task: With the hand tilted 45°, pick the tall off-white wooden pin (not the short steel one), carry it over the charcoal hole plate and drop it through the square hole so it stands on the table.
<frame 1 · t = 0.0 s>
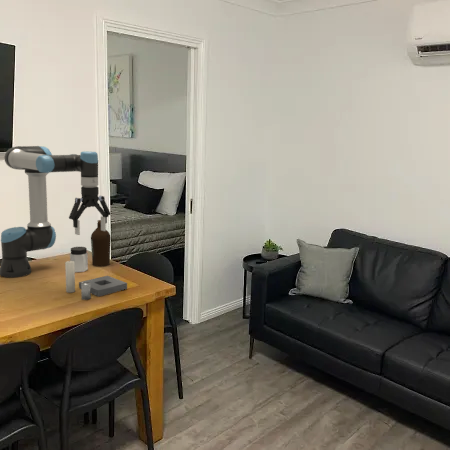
hand: (90, 232, 219), 28 cm above the table, tool pointing down, fingers open, 13 cm apart
short pin: (86, 298, 215), on the table
jar: (79, 270, 256), on the table
long pin: (70, 291, 223), on the table
hole plate: (103, 288, 228), on the table
olive oil: (101, 264, 268), on the table
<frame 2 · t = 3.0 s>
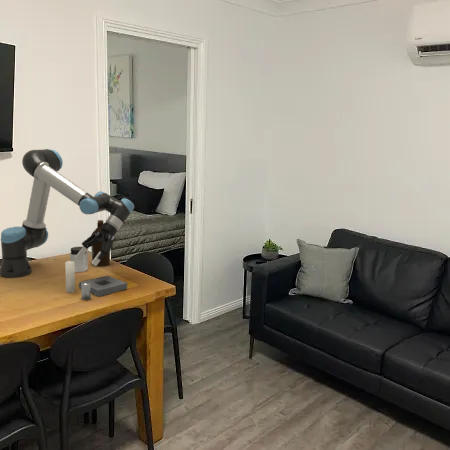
hand: (85, 261, 225), 13 cm above the table, tool tilted 45°, fingers open, 13 cm apart
nothing on the table moved.
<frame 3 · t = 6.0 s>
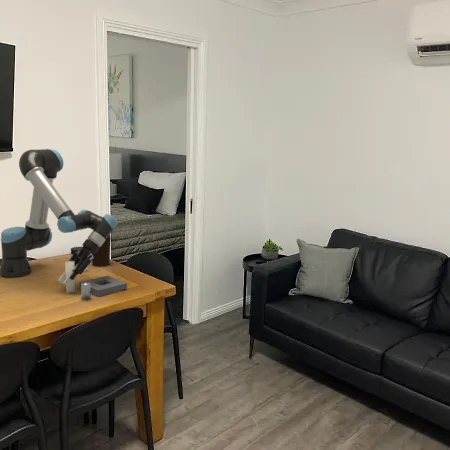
hand: (62, 283, 219), 5 cm above the table, tool tilted 45°, fingers closed on long pin, 4 cm apart
long pin: (70, 291, 223), on the table, touching gripper
everything else where it was.
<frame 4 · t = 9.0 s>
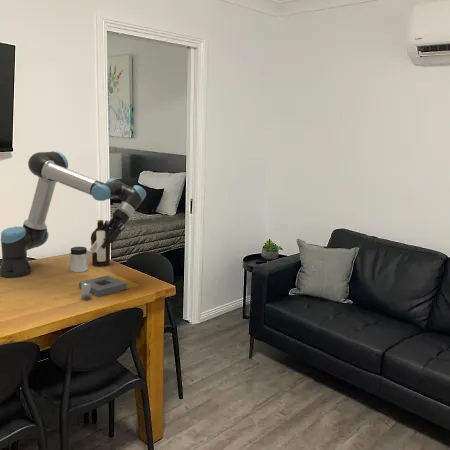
hand: (94, 252, 221), 19 cm above the table, tool tilted 45°, fingers closed on long pin, 4 cm apart
long pin: (101, 260, 225), point 14 cm above the table, touching gripper
everything else where it was.
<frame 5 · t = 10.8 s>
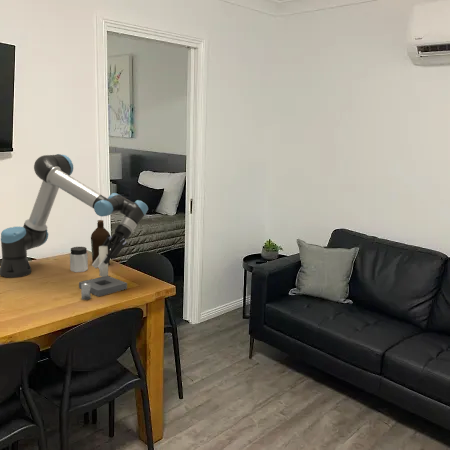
hand: (96, 267, 223), 11 cm above the table, tool tilted 45°, fingers closed on long pin, 4 cm apart
long pin: (103, 275, 227), point 7 cm above the table, touching gripper
everything else where it was.
when the fingers open (6 cm above the table, at t = 12.4 s): long pin stays where it is, resting in hole plate.
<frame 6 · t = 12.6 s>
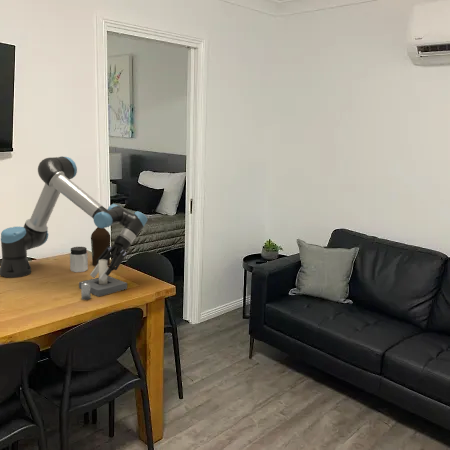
hand: (96, 278, 224), 6 cm above the table, tool tilted 45°, fingers open, 7 cm apart
long pin: (103, 288, 228), resting in hole plate
everything else where it was.
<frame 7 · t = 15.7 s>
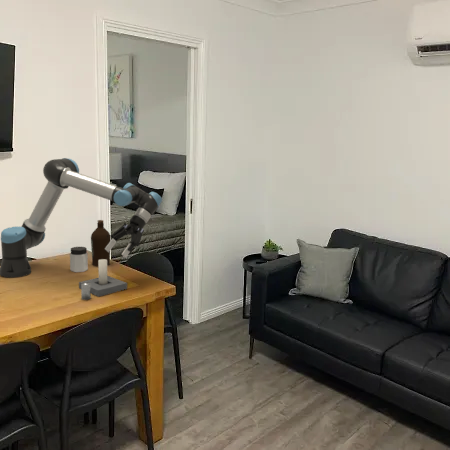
hand: (114, 253, 230), 16 cm above the table, tool tilted 45°, fingers open, 13 cm apart
nothing on the table moved.
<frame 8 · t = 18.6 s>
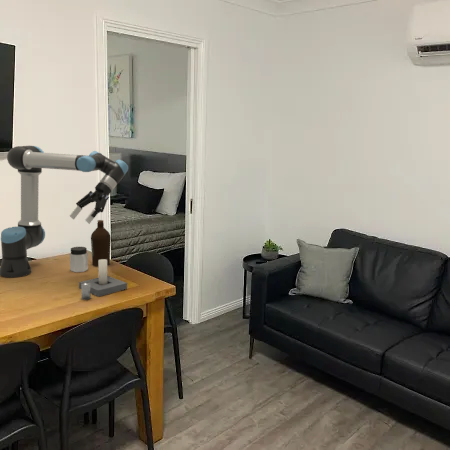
hand: (79, 219, 229), 32 cm above the table, tool tilted 45°, fingers open, 13 cm apart
nothing on the table moved.
at the end: long pin 0.0 cm off-centre on the hole plate, point 0.0 cm above the hole plate's base; long pin tilted 0°; short pin moved 0.0 cm from its start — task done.
